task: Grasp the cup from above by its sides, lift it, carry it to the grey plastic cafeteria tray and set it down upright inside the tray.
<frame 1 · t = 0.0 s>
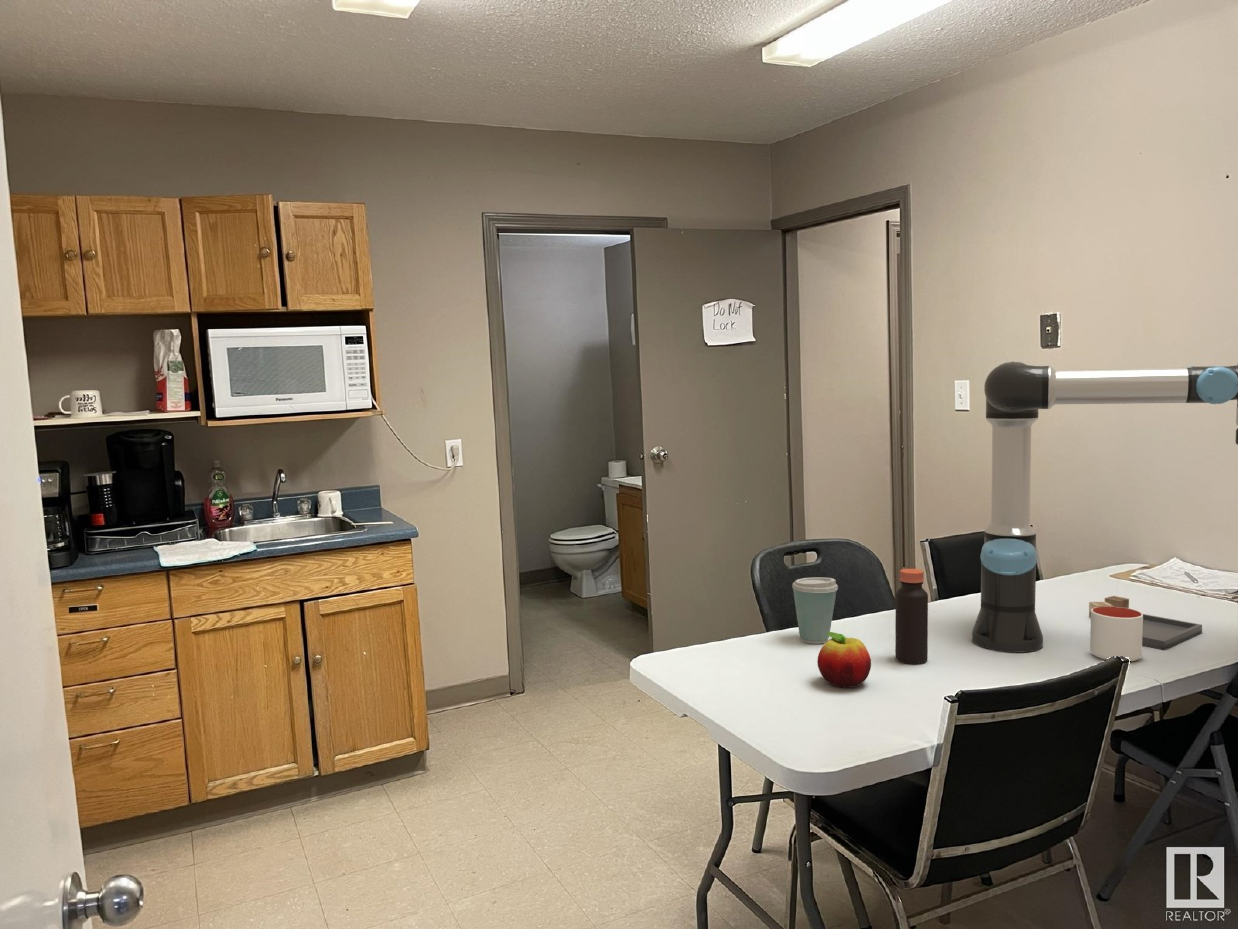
tray: (1146, 634, 218), on the table
disposable coffee cup: (815, 641, 220), on the table
walnut block: (1116, 613, 236), on the table
fruit: (844, 684, 190), on the table
cup: (1115, 657, 202), on the table
bottle: (911, 661, 203), on the table
maple block: (1100, 619, 232), on the table
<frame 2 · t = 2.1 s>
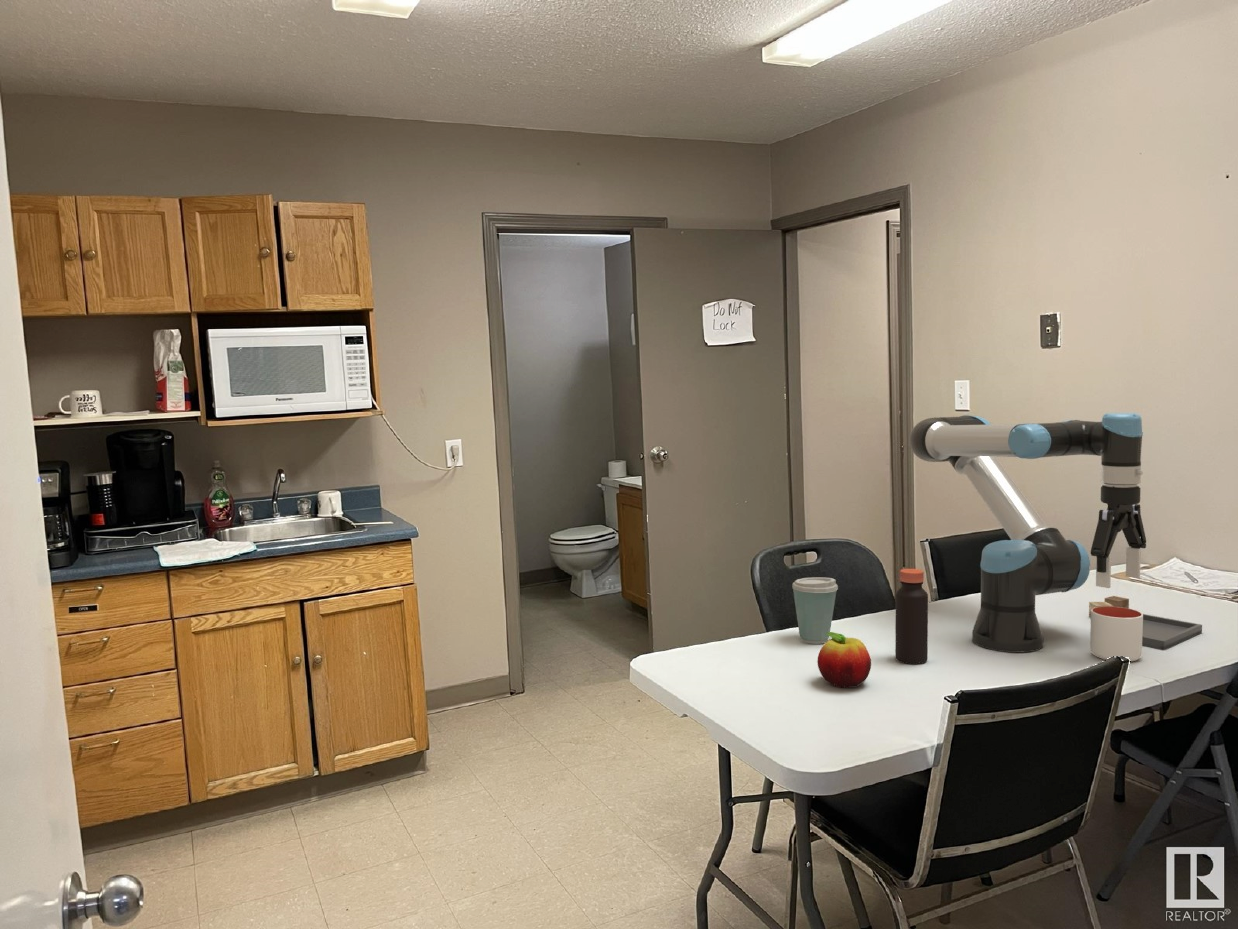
hand: (1118, 582, 200), 17 cm above the table, fingers open, 13 cm apart
nothing on the table moved.
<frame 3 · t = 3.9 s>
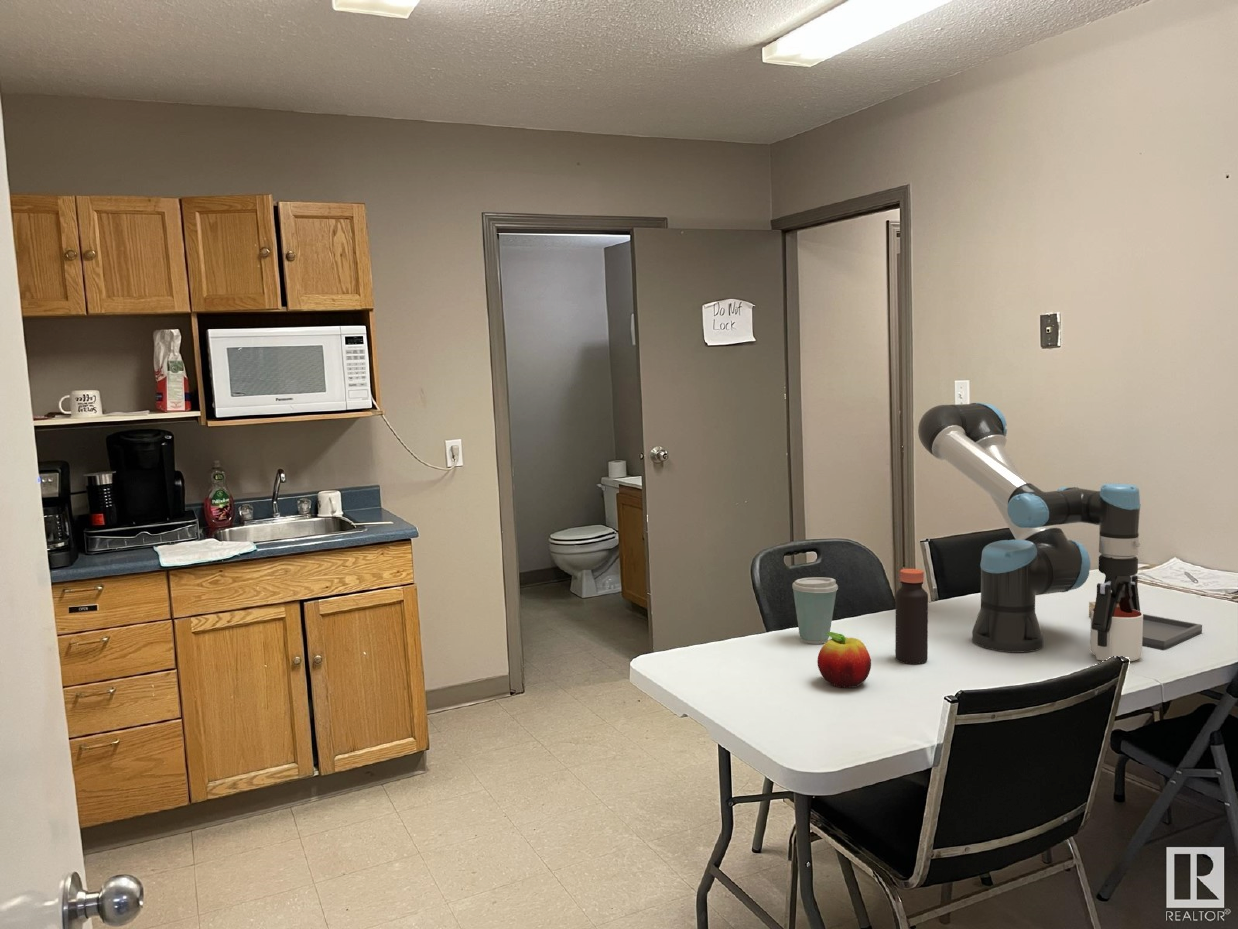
hand: (1115, 655, 202), 0 cm above the table, fingers closed on cup, 10 cm apart
cup: (1115, 657, 202), on the table, touching gripper
everything else where it was.
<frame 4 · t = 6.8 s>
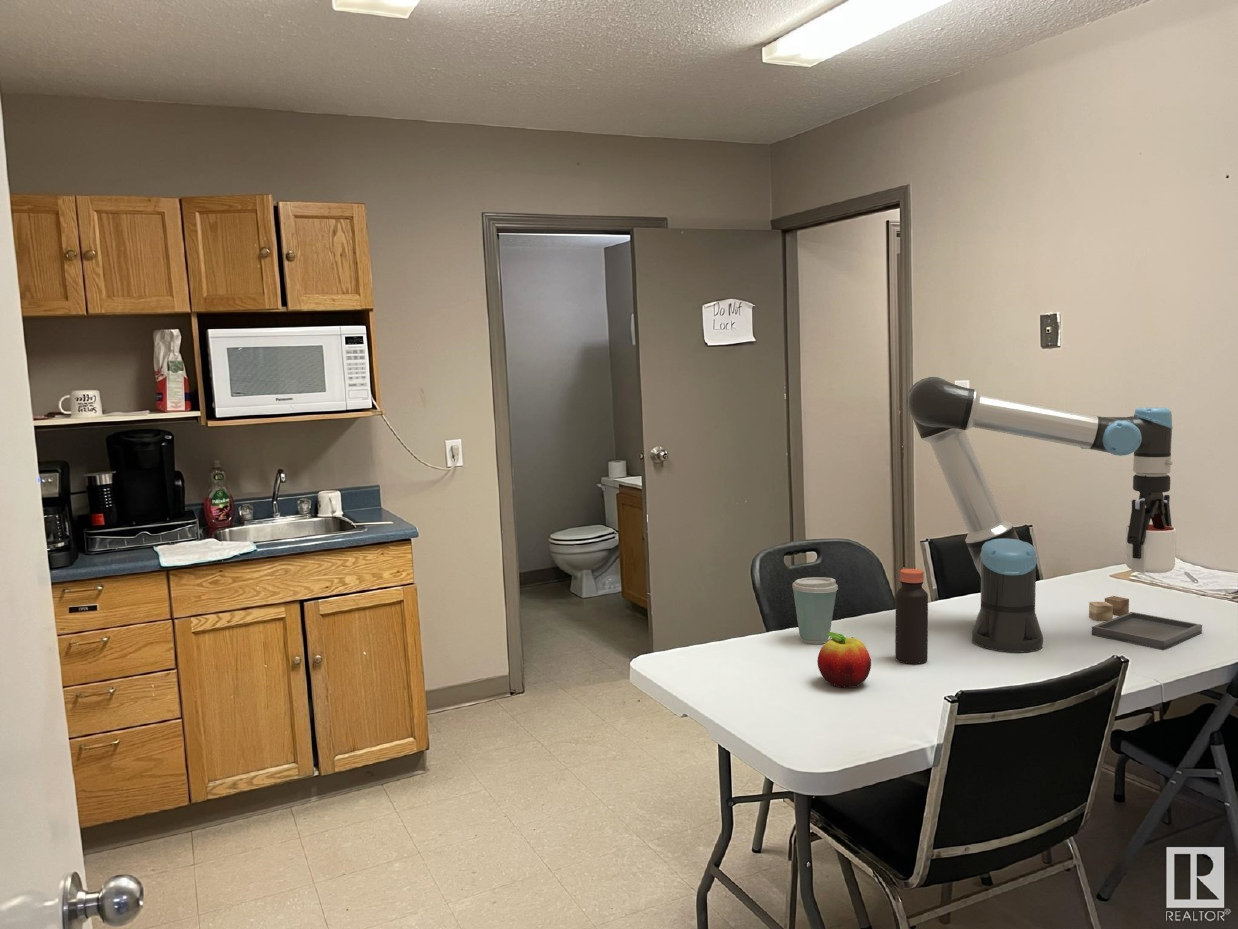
hand: (1149, 568, 216), 16 cm above the table, fingers closed on cup, 10 cm apart
cup: (1149, 570, 216), point 15 cm above the table, touching gripper
everything else where it was.
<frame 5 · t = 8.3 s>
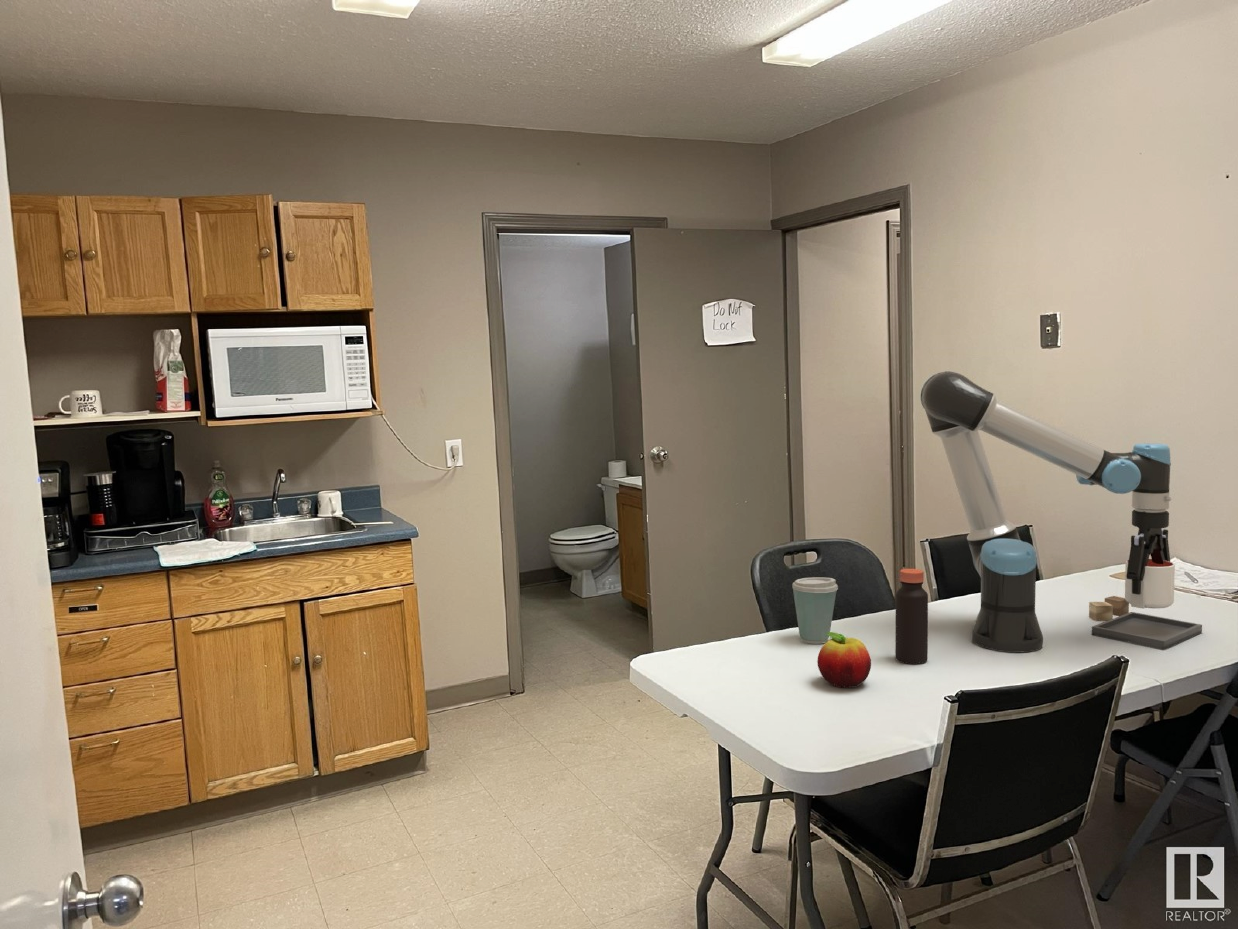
hand: (1148, 603, 217), 7 cm above the table, fingers closed on cup, 10 cm apart
cup: (1148, 605, 217), point 7 cm above the table, touching gripper
everything else where it was.
when the fingers open (3 cm above the table, at t = 9.7 s): cup drops 2 cm, resting on tray.
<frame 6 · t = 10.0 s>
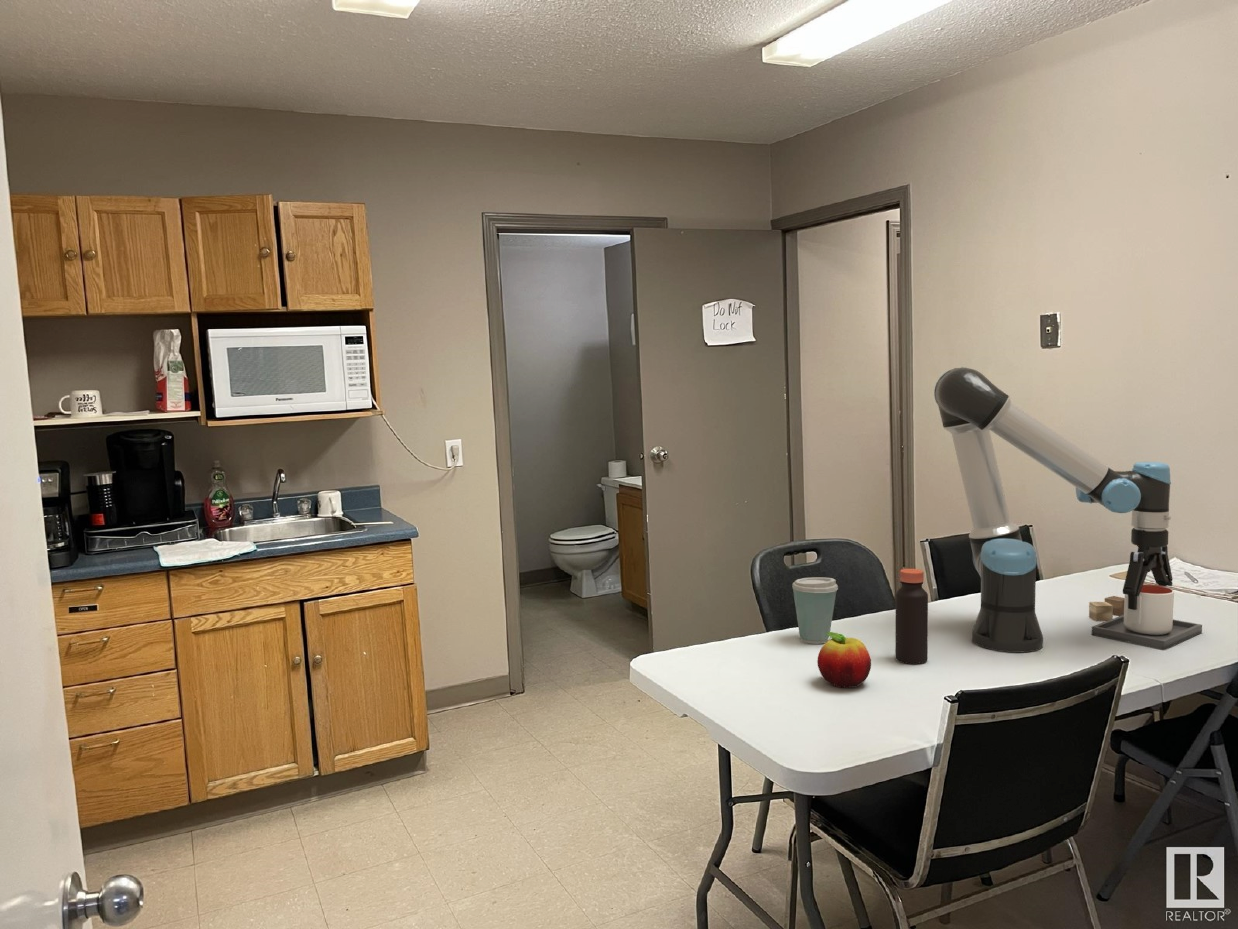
hand: (1147, 617, 218), 4 cm above the table, fingers open, 13 cm apart
cup: (1147, 631, 218), point 1 cm above the table, touching tray
everything else where it was.
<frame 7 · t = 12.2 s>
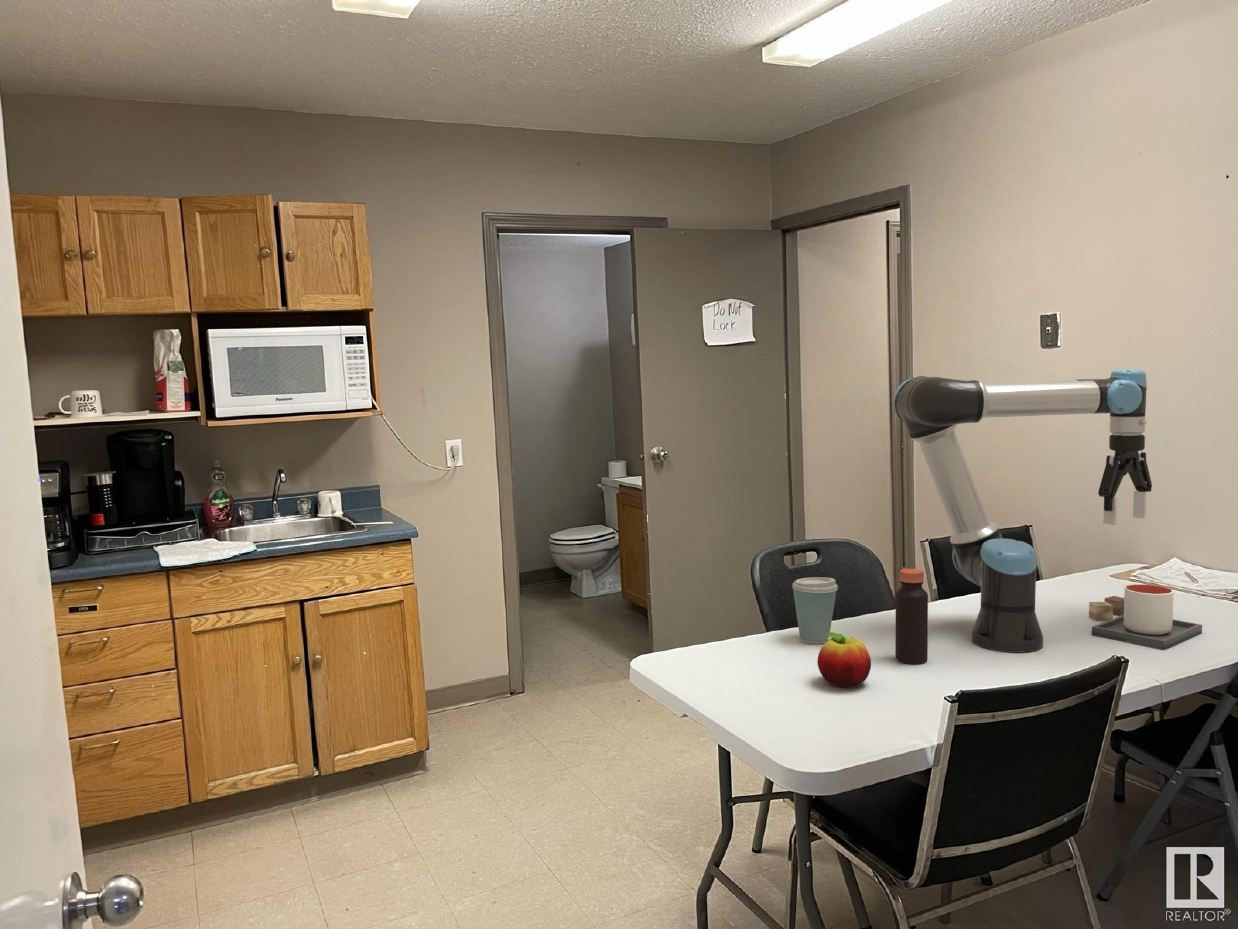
hand: (1124, 521, 225), 26 cm above the table, fingers open, 13 cm apart
nothing on the table moved.
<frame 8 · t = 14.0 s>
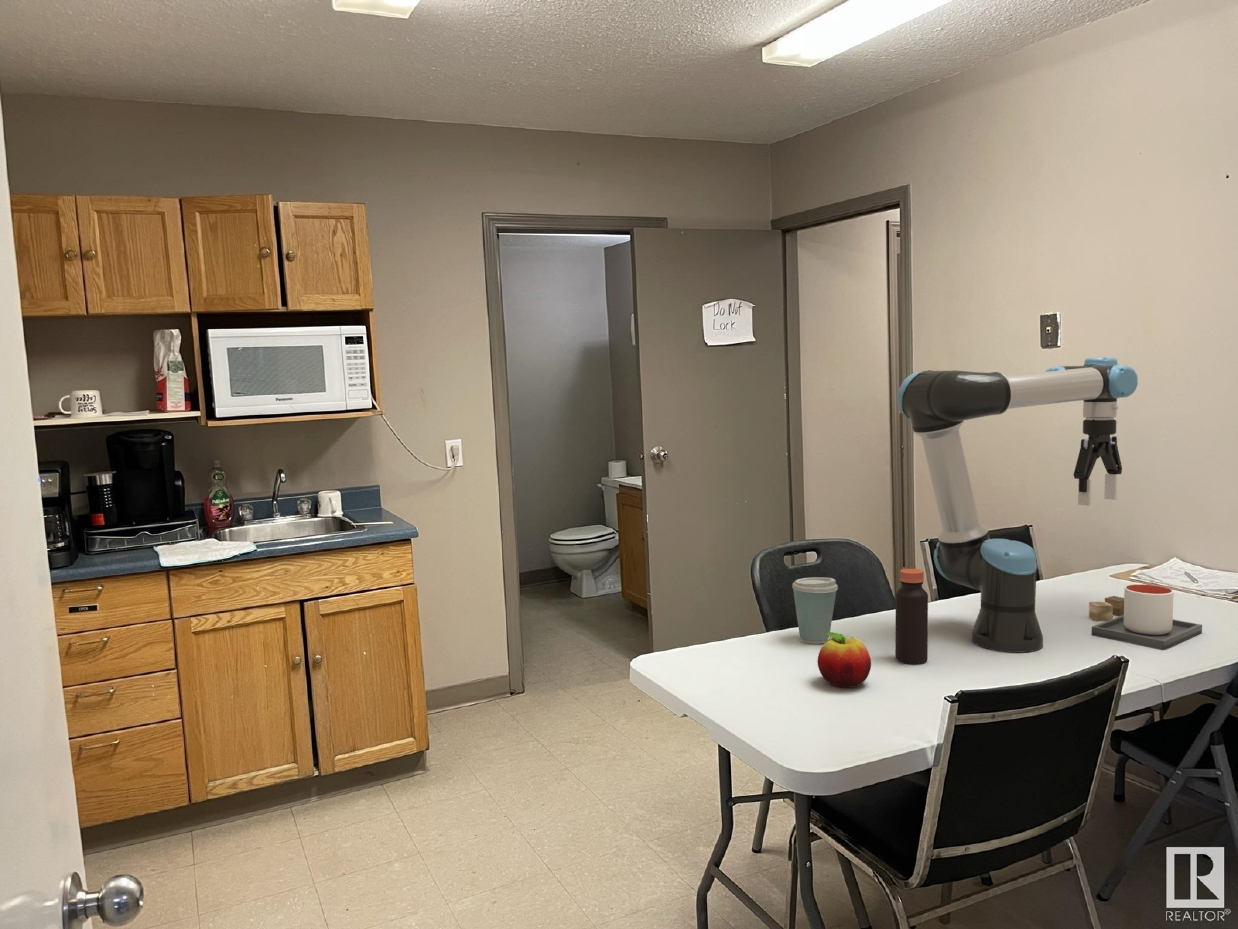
hand: (1097, 502, 235), 29 cm above the table, fingers open, 13 cm apart
nothing on the table moved.
at the end: cup inside the target area on the tray (0.2 cm from its centre), point 0.6 cm above the tray's base; cup tilted 0°; the gripper is holding nothing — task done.
